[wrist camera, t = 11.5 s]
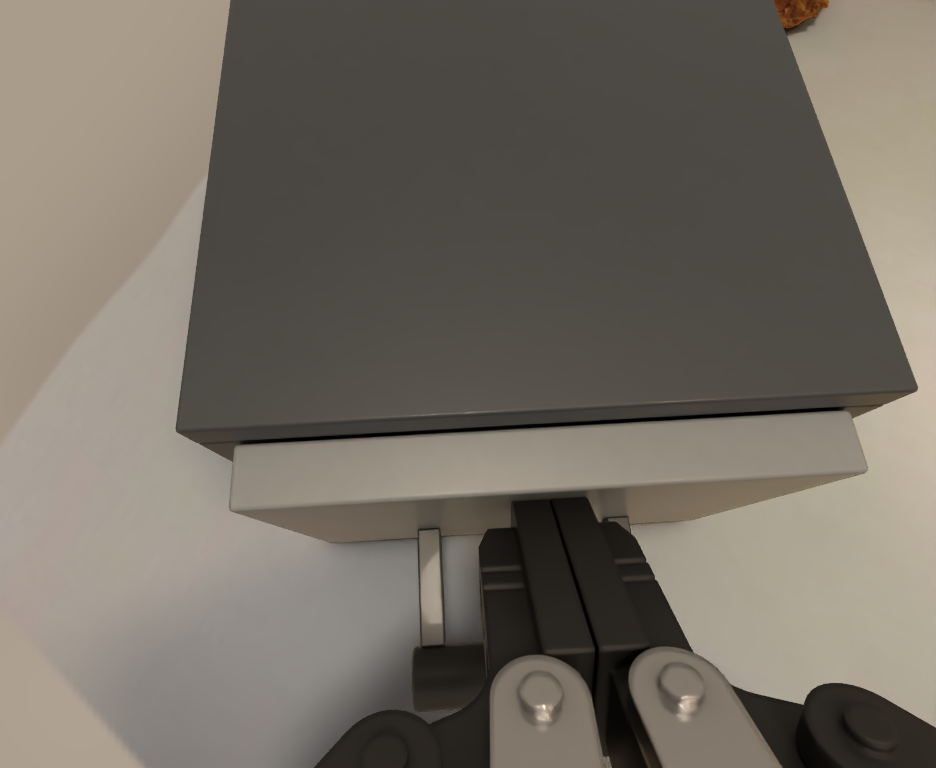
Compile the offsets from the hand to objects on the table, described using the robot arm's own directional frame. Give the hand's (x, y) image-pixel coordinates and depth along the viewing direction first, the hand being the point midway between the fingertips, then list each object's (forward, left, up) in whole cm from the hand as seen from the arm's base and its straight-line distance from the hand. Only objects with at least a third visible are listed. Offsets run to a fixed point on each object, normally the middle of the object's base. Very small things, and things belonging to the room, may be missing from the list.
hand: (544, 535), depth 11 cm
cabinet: (+3, +9, -7) cm, 11 cm away
